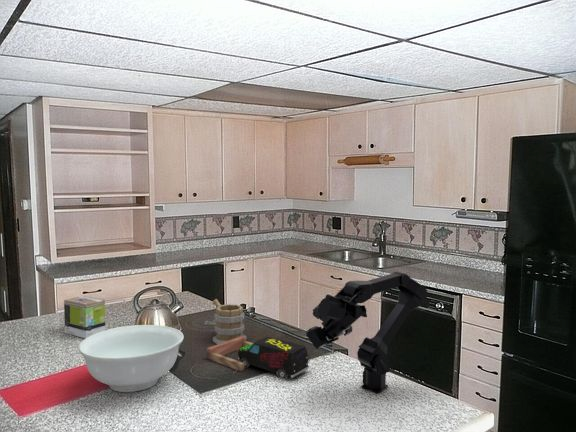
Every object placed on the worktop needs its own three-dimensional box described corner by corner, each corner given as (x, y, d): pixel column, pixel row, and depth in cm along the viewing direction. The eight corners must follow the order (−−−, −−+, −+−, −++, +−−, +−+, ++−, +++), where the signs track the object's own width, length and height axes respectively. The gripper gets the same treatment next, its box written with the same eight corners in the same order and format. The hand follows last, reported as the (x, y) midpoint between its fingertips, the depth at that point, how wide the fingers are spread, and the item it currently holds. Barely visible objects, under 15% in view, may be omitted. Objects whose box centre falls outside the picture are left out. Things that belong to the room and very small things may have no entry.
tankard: (250, 342, 195) (250, 306, 194) (222, 348, 188) (222, 310, 187) (228, 329, 211) (228, 295, 210) (201, 334, 204) (201, 299, 203)
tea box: (106, 333, 205) (105, 299, 204) (85, 339, 196) (84, 304, 195) (84, 327, 213) (84, 294, 212) (63, 333, 204) (62, 299, 203)
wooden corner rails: (275, 356, 179) (275, 346, 179) (241, 371, 165) (241, 360, 165) (241, 345, 191) (241, 335, 190) (206, 358, 177) (206, 348, 177)
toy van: (255, 356, 180) (255, 330, 179) (310, 372, 166) (310, 344, 165) (236, 365, 172) (236, 338, 171) (292, 382, 157) (292, 353, 156)
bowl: (79, 371, 165) (78, 330, 163) (174, 358, 177) (174, 319, 176) (79, 414, 135) (78, 364, 134) (193, 394, 148) (193, 348, 147)
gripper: (345, 292, 158) (317, 318, 166) (311, 303, 143) (283, 331, 151) (365, 320, 153) (336, 345, 161) (332, 334, 139) (302, 362, 147)
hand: (314, 345), depth 155 cm, fingers closed
